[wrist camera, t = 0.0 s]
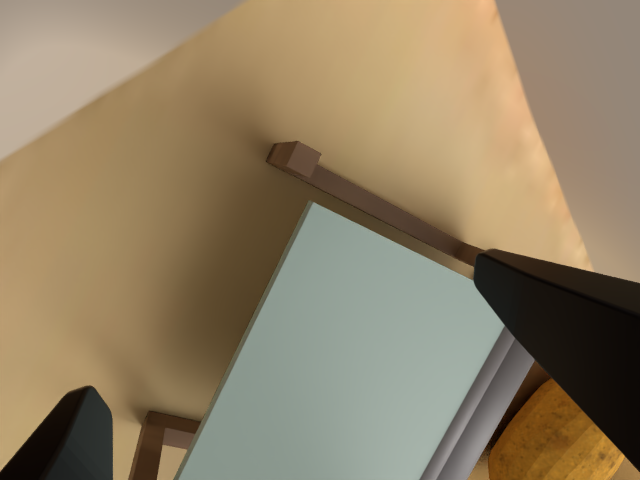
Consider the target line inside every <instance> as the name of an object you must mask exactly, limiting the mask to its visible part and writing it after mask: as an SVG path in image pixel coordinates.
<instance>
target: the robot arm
mask: <svg viewBox="0 0 640 480" xmlns="http://www.w3.org/2000/svg"><path fill="white" fill-rule="evenodd" d="M473 280H474V284H475V287H476V288H477V290H478V291H479V293H480V294H481V295H482V297H483V298H484V299H485V300H486V302H487V303H488V304H489V306H490V307H491V308H492V310H493V311H494V312H495V314H496V315H497V316H498V317H499V319H500V320H501V321H502V323H503V324H504V325H505V327H506V328H507V329H508V330H509V332H510V333H511V334H512V335H513V336H514V338H515V339H516V340H517V341H518V342H519V343H520V344H521V345H522V346H523V348H524V349H525V350H526V351H527V352H528V353H529V354H530V355H531V356H532V357H533V358H534V359H535V360H536V361H537V363H538V364H539V365H540V366H541V367H542V368H543V369H544V370H545V371H546V372H547V373H548V374H549V375H550V376H551V378H552V379H553V380H554V381H555V382H556V383H557V384H558V385H559V386H560V387H561V388H562V389H563V390H564V391H565V393H566V394H567V395H568V396H569V397H570V398H571V399H572V400H573V401H574V402H575V403H576V404H577V405H578V406H579V408H580V409H581V410H582V411H583V412H584V413H585V414H586V415H587V416H588V417H589V418H590V419H591V420H592V421H593V423H594V424H595V425H596V426H597V427H598V428H599V429H600V430H601V431H602V432H603V433H604V434H605V435H606V437H607V438H608V439H609V440H610V441H611V442H612V443H613V444H614V445H615V446H616V447H617V448H618V449H619V450H620V452H621V453H622V454H623V455H624V456H625V457H626V458H627V459H628V460H629V461H630V462H631V463H632V464H633V465H634V467H635V468H636V469H637V470H638V471H639V472H640V283H637V282H633V281H628V280H624V279H620V278H616V277H611V276H607V275H603V274H599V273H595V272H590V271H586V270H582V269H578V268H573V267H569V266H565V265H561V264H557V263H552V262H548V261H544V260H540V259H535V258H531V257H527V256H523V255H519V254H514V253H510V252H506V251H502V250H497V249H488V250H485V251H483V252H480V253H478V254H477V255H476V258H475V267H474V277H473ZM0 480H113V420H112V414H111V411H110V409H109V407H108V406H107V405H106V403H105V402H104V400H103V399H102V398H101V396H100V395H99V393H98V392H97V391H96V389H95V388H94V387H93V386H84V387H81V388H78V389H75V390H72V391H70V392H68V393H67V394H66V395H65V396H64V397H63V398H62V399H61V400H60V401H59V403H58V404H57V405H56V406H55V407H54V408H53V410H52V411H51V412H50V413H49V414H48V416H47V417H46V418H45V419H44V420H43V422H42V423H41V424H40V425H39V426H38V427H37V429H36V430H35V431H34V432H33V433H32V435H31V436H30V437H29V438H28V439H27V441H26V442H25V443H24V444H23V445H22V446H21V448H20V449H19V450H18V451H17V452H16V454H15V455H14V456H13V457H12V458H11V460H10V461H9V462H8V463H7V464H6V465H5V467H4V468H3V469H2V470H1V471H0Z"/></svg>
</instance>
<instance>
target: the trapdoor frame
mask: <svg viewBox="0 0 640 480" xmlns="http://www.w3.org/2000/svg"><path fill="white" fill-rule="evenodd" d="M320 156H321V153H319V152H317V151H315V150H314V149H312V148H310V147H308V146H306V145H304V144H303V143H301V142H299V141H295V142H285V143H276V144H274V145H273V147H272V149H271V152H270V154H269V156H268V158H267V160H266V162H267V163H269V164H271V165H273V166H275V167H277V168H279V169H281V170H283V171H285V172H287V173H289V174H291V175H293V176H295V177H297V178H299V179H301V180H303V181H305V182H307V183H308V184H310V185H312V186H314V187H316V188H318V189H320V190H322V191H324V192H326V193H328V194H330V195H332V196H334V197H336V198H338V199H340V200H342V201H344V202H346V203H348V204H350V205H352V206H354V207H356V208H358V209H360V210H362V211H363V212H365V213H367V214H369V215H371V216H373V217H375V218H377V219H379V220H381V221H383V222H385V223H387V224H389V225H391V226H393V227H395V228H397V229H399V230H401V231H403V232H405V233H407V234H409V235H411V236H413V237H415V238H417V239H418V240H420V241H422V242H424V243H426V244H428V245H430V246H432V247H434V248H436V249H438V250H440V251H442V252H444V253H446V254H448V255H450V256H452V257H454V258H456V259H458V260H460V261H462V262H464V263H466V264H469V265H471V266H473V267H475V258H476V255H477V254H478V253H480V252H483V251H485V250H482V249H480V248H477V247H474V246H471V245H469V244H466V243H463V242H461V241H459V240H457V239H455V238H454V237H452V236H450V235H448V234H446V233H444V232H442V231H440V230H439V229H437V228H435V227H433V226H431V225H429V224H427V223H426V222H424V221H422V220H420V219H418V218H416V217H414V216H412V215H411V214H409V213H407V212H405V211H403V210H401V209H399V208H397V207H396V206H394V205H392V204H390V203H388V202H386V201H384V200H383V199H381V198H379V197H377V196H375V195H373V194H371V193H369V192H368V191H366V190H364V189H362V188H360V187H358V186H356V185H354V184H353V183H351V182H349V181H347V180H345V179H343V178H341V177H340V176H338V175H336V174H334V173H332V172H330V171H328V170H326V169H325V168H323V167H321V166H319V165H317V162H318V160H319V158H320ZM200 423H201V422H197V421H193V420H188V419H184V418H179V417H175V416H170V415H166V414H161V413H157V412H152V411H149V412H148V414H147V416H146V418H145V420H144V423H143V425H142V427H141V431H140V435H139V439H138V443H137V447H136V451H135V455H134V459H133V463H132V467H131V471H130V475H129V479H128V480H157V475H158V469H159V463H160V457H161V451H162V445H167V446H172V447H178V448H183V449H188V448H189V446H190V444H191V442H192V440H193V438H194V436H195V434H196V432H197V430H198V428H199V426H200Z"/></svg>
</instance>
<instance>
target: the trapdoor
mask: <svg viewBox="0 0 640 480" xmlns="http://www.w3.org/2000/svg"><path fill="white" fill-rule="evenodd" d="M534 361H535V359H534V358H533V357H532V356H531V355H530V354H529V353H528V352H527V351H526V350H525V349H524V348H523V346H522V345H521V344H520V343H519V342H518V341H517V340H516V339H515V338H514V336H513V335H512V334H511V333H510V332H509V330H508V329H507V328H506V327H505V325H504V324H503V323H502V321H501V320H500V319H499V317H498V316H497V315H496V314H495V312H494V311H493V310H492V308H491V307H490V306H489V304H488V303H487V302H486V300H485V299H484V298H483V297H482V295H481V294H480V293H479V291H478V290H477V288H476V287H475V284H474V281H473V280H471V279H469V278H467V277H465V276H463V275H461V274H459V273H457V272H455V271H453V270H451V269H449V268H447V267H445V266H442V265H440V264H438V263H436V262H434V261H432V260H430V259H428V258H426V257H424V256H422V255H420V254H418V253H416V252H414V251H412V250H410V249H408V248H406V247H404V246H402V245H400V244H398V243H396V242H394V241H392V240H390V239H388V238H386V237H383V236H381V235H379V234H377V233H375V232H373V231H371V230H369V229H367V228H365V227H363V226H361V225H359V224H357V223H355V222H353V221H351V220H349V219H347V218H345V217H343V216H341V215H339V214H337V213H335V212H333V211H331V210H329V209H326V208H324V207H322V206H320V205H318V204H316V203H314V202H312V201H310V200H309V201H308V203H307V205H306V207H305V209H304V211H303V213H302V215H301V217H300V219H299V221H298V223H297V225H296V227H295V230H294V232H293V234H292V236H291V238H290V240H289V242H288V244H287V246H286V248H285V250H284V252H283V254H282V256H281V258H280V260H279V263H278V265H277V267H276V269H275V271H274V273H273V275H272V277H271V279H270V281H269V283H268V285H267V287H266V289H265V291H264V293H263V296H262V298H261V300H260V302H259V304H258V306H257V308H256V310H255V312H254V314H253V316H252V318H251V320H250V322H249V324H248V327H247V329H246V331H245V333H244V335H243V337H242V339H241V341H240V343H239V345H238V347H237V349H236V351H235V353H234V355H233V357H232V360H231V362H230V364H229V366H228V368H227V370H226V372H225V374H224V376H223V378H222V380H221V382H220V384H219V386H218V388H217V390H216V393H215V395H214V397H213V399H212V401H211V403H210V405H209V407H208V409H207V411H206V413H205V415H204V417H203V419H202V421H201V423H200V426H199V428H198V430H197V432H196V434H195V436H194V438H193V440H192V442H191V444H190V446H189V448H188V450H187V452H186V454H185V456H184V459H183V461H182V463H181V465H180V467H179V469H178V471H177V473H176V475H175V477H174V479H173V480H467V479H468V477H469V475H470V473H471V472H472V470H473V468H474V466H475V465H476V463H477V461H478V459H479V458H480V456H481V454H482V452H483V450H484V449H485V447H486V445H487V443H488V442H489V440H490V438H491V436H492V435H493V433H494V431H495V429H496V428H497V426H498V424H499V422H500V421H501V419H502V417H503V415H504V414H505V412H506V410H507V408H508V406H509V405H510V403H511V401H512V399H513V398H514V396H515V394H516V392H517V391H518V389H519V387H520V385H521V384H522V382H523V380H524V378H525V377H526V375H527V373H528V371H529V370H530V368H531V366H532V364H533V363H534Z"/></svg>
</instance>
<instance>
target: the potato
mask: <svg viewBox="0 0 640 480" xmlns="http://www.w3.org/2000/svg"><path fill="white" fill-rule="evenodd" d="M624 457H625V456H624V455H623V454H622V453H621V452H620V450H619V449H618V448H617V447H616V446H615V445H614V444H613V443H612V442H611V441H610V440H609V439H608V438H607V437H606V435H605V434H604V433H603V432H602V431H601V430H600V429H599V428H598V427H597V426H596V425H595V424H594V423H593V421H592V420H591V419H590V418H589V417H588V416H587V415H586V414H585V413H584V412H583V411H582V410H581V409H580V408H579V406H578V405H577V404H576V403H575V402H574V401H573V400H572V399H571V398H570V397H569V396H568V395H567V394H566V393H565V391H564V390H563V389H562V388H561V387H560V386H559V385H558V384H557V383H556V382H555V381H554V380H553V379H552V378H551V379H550V380H548V381H547V382H545V383H544V384H542V385H541V386H540V387H539V388H538V389H537V391H536V392H535V393H534V394H533V395H532V396H531V397H530V398H529V400H528V401H527V402H526V403H525V404H524V406H523V407H522V408H521V409H520V410H519V412H518V413H517V414H516V415H515V417H514V418H513V419H512V420H511V422H510V423H509V424H508V426H507V427H506V429H505V430H504V432H503V433H502V435H501V436H500V438H499V439H498V441H497V442H496V444H495V446H494V447H493V449H492V450H491V453H490V456H489V459H488V469H489V478H490V480H610V478H611V477H612V476H613V475H614V473H615V472H616V471H617V469H618V467H619V466H620V464H621V462H622V461H623V459H624Z"/></svg>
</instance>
